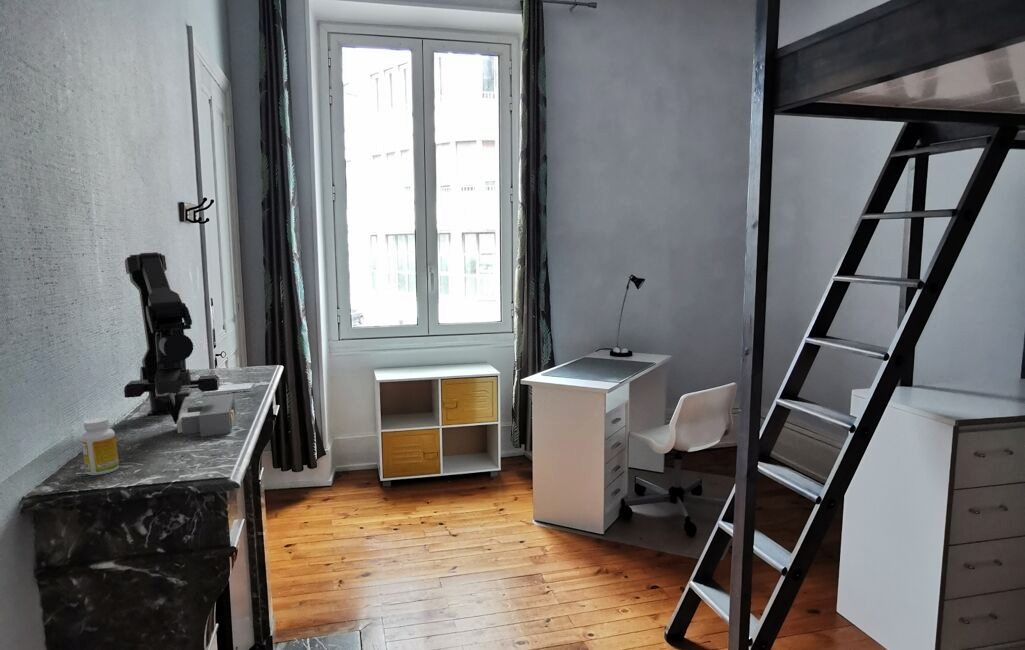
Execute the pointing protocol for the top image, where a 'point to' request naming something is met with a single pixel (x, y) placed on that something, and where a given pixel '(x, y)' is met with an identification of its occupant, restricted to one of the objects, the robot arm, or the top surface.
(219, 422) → the dock
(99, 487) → the top surface
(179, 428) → the white flat block
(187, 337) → the robot arm
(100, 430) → the supplement bottle
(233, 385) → the hard drive
